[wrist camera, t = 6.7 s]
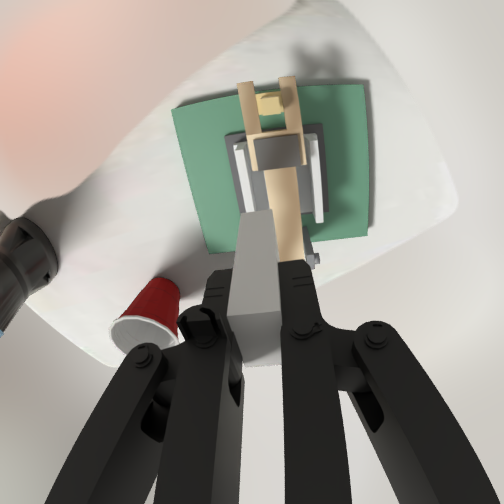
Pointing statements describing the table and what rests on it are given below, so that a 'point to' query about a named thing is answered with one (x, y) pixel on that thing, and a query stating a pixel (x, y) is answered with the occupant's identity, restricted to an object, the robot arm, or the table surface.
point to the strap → (278, 163)
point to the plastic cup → (149, 318)
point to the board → (338, 159)
